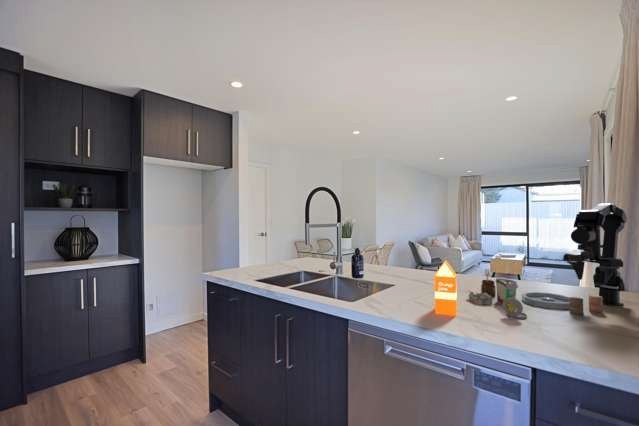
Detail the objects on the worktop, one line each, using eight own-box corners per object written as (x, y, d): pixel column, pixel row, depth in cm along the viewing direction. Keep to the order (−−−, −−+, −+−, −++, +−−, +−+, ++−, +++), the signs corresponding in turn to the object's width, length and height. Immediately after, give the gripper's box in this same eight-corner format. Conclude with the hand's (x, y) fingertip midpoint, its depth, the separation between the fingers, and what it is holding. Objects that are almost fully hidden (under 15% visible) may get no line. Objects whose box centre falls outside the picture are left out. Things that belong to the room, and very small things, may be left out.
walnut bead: (575, 312, 120) (575, 296, 120) (586, 315, 116) (586, 299, 116) (567, 313, 119) (566, 297, 119) (577, 316, 115) (577, 300, 115)
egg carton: (467, 298, 142) (467, 289, 142) (485, 299, 141) (484, 290, 141) (475, 305, 132) (475, 295, 132) (494, 305, 130) (494, 296, 131)
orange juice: (457, 309, 125) (456, 260, 125) (456, 316, 117) (455, 263, 117) (436, 307, 128) (435, 259, 128) (434, 313, 120) (433, 262, 120)
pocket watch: (524, 314, 118) (523, 288, 118) (531, 321, 110) (530, 293, 110) (499, 312, 121) (499, 286, 121) (504, 319, 113) (504, 291, 113)
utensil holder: (482, 296, 144) (481, 270, 144) (480, 293, 150) (479, 268, 150) (496, 297, 142) (496, 271, 142) (494, 294, 148) (493, 269, 148)
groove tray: (547, 296, 144) (547, 291, 144) (587, 307, 125) (587, 301, 125) (512, 298, 140) (512, 293, 140) (548, 310, 122) (548, 304, 122)
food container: (523, 309, 124) (523, 284, 124) (506, 308, 125) (506, 284, 125) (511, 301, 136) (510, 278, 136) (496, 300, 137) (495, 278, 138)
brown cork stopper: (594, 310, 123) (594, 294, 123) (605, 313, 119) (605, 297, 119) (586, 310, 122) (586, 295, 122) (597, 313, 118) (596, 298, 118)
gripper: (551, 240, 129) (552, 278, 129) (597, 245, 111) (598, 289, 111) (574, 239, 131) (575, 276, 131) (624, 244, 112) (625, 287, 112)
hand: (591, 282), depth 121 cm, fingers open, 9 cm apart
